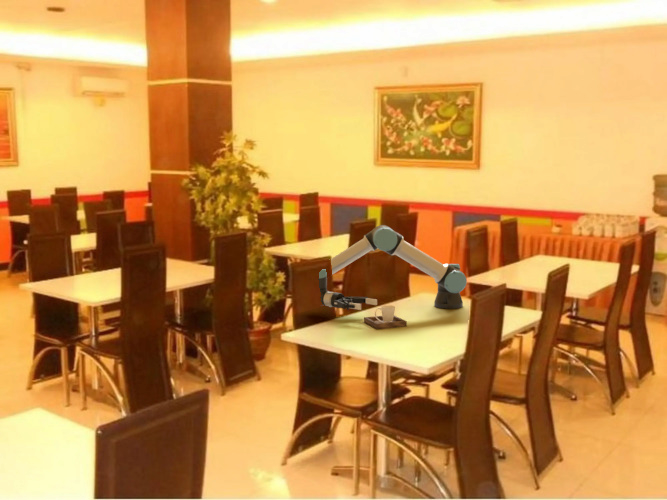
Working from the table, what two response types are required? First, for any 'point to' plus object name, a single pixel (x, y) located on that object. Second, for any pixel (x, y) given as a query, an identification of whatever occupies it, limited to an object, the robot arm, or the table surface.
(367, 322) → the tray
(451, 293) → the robot arm
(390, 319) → the cup
